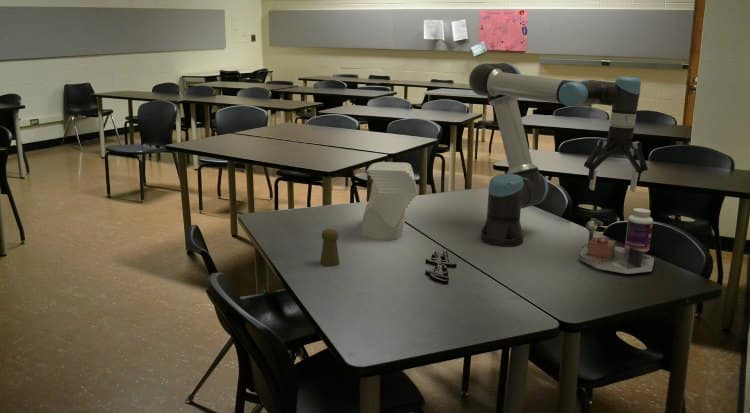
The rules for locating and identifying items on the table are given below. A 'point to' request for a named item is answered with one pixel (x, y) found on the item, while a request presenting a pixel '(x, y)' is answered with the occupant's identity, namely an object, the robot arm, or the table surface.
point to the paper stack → (388, 200)
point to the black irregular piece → (439, 267)
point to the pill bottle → (639, 230)
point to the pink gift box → (601, 247)
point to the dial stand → (592, 229)
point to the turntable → (620, 260)
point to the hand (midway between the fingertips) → (612, 190)
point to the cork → (329, 248)
